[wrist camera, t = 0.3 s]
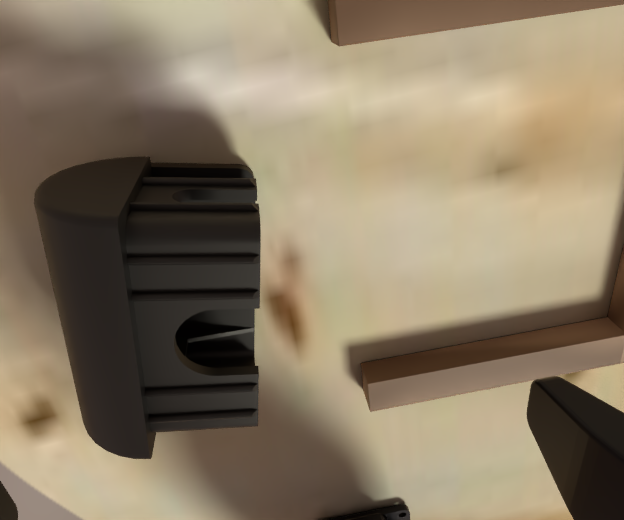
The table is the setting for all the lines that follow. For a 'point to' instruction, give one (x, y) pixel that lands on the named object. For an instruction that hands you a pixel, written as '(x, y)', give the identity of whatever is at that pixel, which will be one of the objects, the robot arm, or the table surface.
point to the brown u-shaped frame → (498, 351)
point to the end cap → (155, 295)
